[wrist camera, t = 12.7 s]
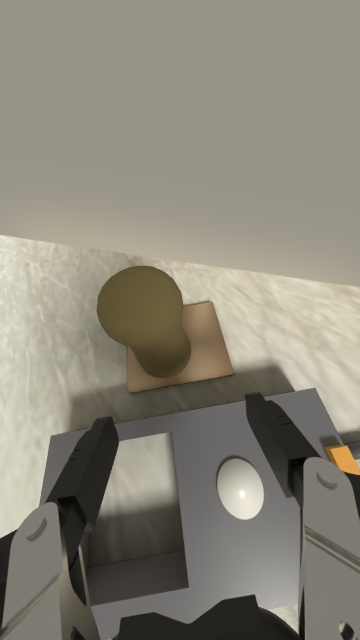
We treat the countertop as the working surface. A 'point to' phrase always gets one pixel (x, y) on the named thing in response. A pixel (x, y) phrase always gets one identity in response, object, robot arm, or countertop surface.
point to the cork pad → (205, 353)
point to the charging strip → (212, 514)
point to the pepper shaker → (146, 319)
